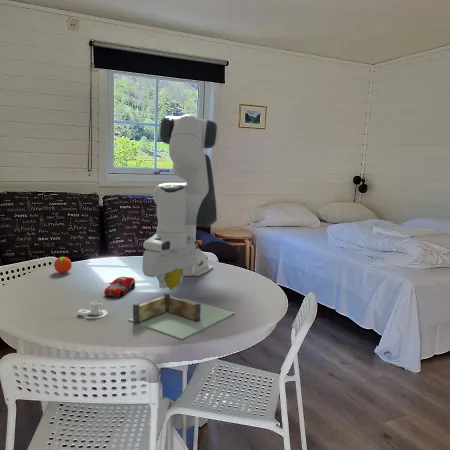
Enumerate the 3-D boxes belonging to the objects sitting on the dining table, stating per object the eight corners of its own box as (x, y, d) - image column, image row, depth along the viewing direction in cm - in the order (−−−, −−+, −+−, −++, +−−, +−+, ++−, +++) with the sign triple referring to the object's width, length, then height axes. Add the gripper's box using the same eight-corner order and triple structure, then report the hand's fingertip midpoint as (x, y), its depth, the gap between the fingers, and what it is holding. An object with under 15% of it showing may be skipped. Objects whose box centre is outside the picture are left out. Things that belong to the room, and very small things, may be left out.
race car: (118, 300, 153) (118, 286, 152) (101, 298, 155) (100, 284, 154) (138, 286, 169) (138, 274, 168) (122, 284, 170) (122, 272, 170)
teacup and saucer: (74, 318, 136) (74, 305, 135) (86, 309, 143) (86, 297, 143) (100, 321, 134) (100, 308, 134) (111, 312, 142) (111, 300, 141)
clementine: (70, 275, 180) (70, 258, 179) (52, 276, 178) (52, 259, 177) (72, 270, 187) (72, 254, 186) (55, 270, 186) (55, 254, 185)
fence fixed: (166, 309, 144) (166, 292, 143) (170, 310, 143) (170, 293, 142) (131, 323, 131) (131, 304, 130) (136, 324, 130) (135, 306, 129)
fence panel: (168, 311, 141) (168, 296, 140) (171, 310, 142) (172, 294, 141) (197, 321, 133) (198, 305, 132) (201, 320, 134) (201, 304, 133)
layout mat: (183, 299, 155) (183, 298, 155) (234, 314, 143) (234, 312, 143) (127, 321, 134) (127, 319, 134) (181, 340, 121) (181, 338, 121)
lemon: (182, 291, 129) (182, 265, 128) (163, 293, 127) (164, 266, 126) (178, 286, 134) (178, 261, 133) (160, 287, 132) (160, 262, 131)
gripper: (186, 233, 138) (185, 275, 140) (138, 243, 122) (138, 290, 124) (201, 236, 135) (200, 279, 137) (155, 246, 118) (154, 295, 120)
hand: (171, 285), depth 130 cm, fingers closed on lemon, 5 cm apart
